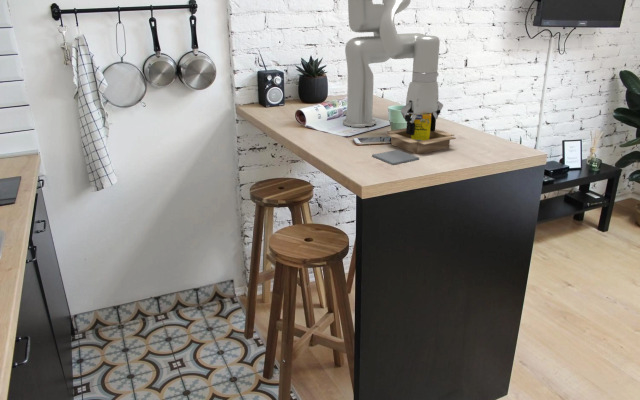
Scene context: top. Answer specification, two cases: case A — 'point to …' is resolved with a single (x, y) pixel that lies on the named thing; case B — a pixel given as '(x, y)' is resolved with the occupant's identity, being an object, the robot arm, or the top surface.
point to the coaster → (395, 157)
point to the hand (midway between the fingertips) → (420, 132)
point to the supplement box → (422, 127)
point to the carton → (434, 143)
